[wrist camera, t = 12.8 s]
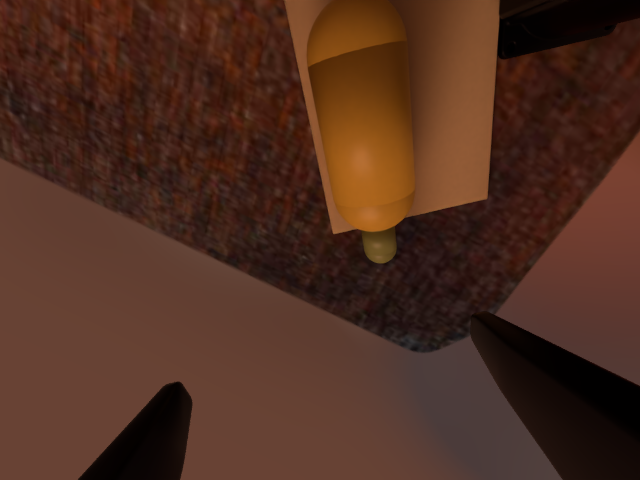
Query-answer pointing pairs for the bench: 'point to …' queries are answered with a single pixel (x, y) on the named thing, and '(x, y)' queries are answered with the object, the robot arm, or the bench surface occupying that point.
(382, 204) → the orange rounded cylinder
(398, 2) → the birch board
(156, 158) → the bench surface
